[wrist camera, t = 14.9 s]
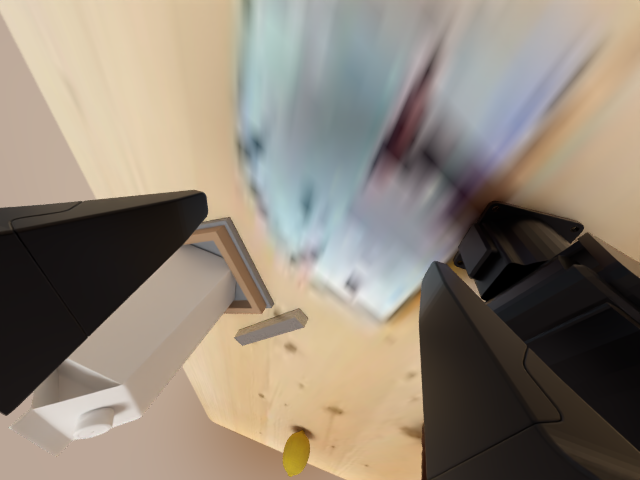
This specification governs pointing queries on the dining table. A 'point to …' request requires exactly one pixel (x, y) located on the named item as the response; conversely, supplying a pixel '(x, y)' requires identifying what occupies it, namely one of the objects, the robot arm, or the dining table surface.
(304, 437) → the lemon
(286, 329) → the steel rail
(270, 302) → the brown and grey tray
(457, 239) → the dining table surface
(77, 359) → the milk carton
